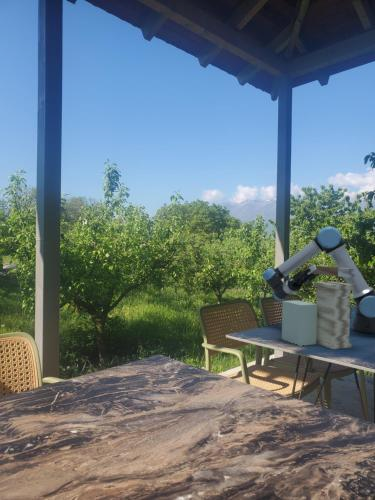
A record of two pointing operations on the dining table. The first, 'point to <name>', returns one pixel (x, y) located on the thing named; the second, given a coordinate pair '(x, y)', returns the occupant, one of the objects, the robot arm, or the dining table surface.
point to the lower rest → (299, 322)
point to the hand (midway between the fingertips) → (318, 266)
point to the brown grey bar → (333, 271)
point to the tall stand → (333, 314)
